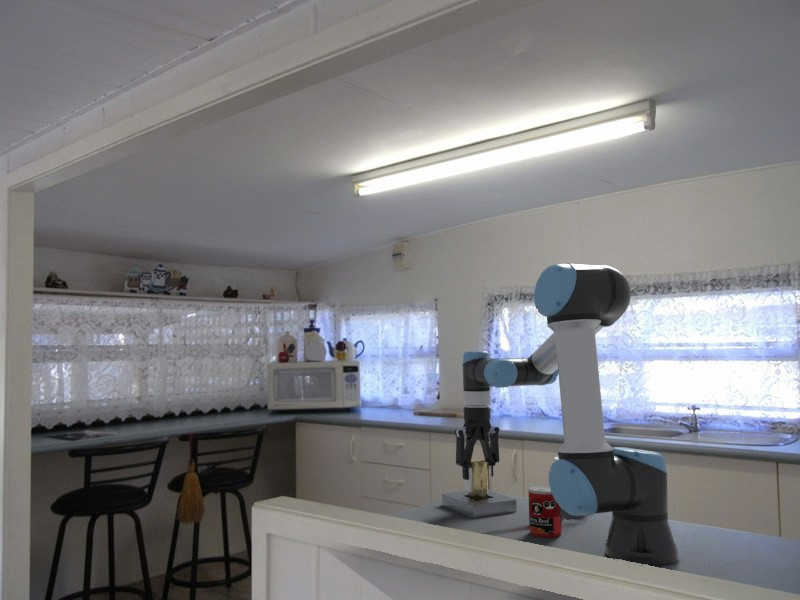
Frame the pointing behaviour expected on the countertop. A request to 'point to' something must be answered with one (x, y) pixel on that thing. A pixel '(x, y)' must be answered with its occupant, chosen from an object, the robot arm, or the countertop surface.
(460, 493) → the housing
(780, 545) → the countertop surface
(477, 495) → the cream rounded cylinder
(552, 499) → the canned food
